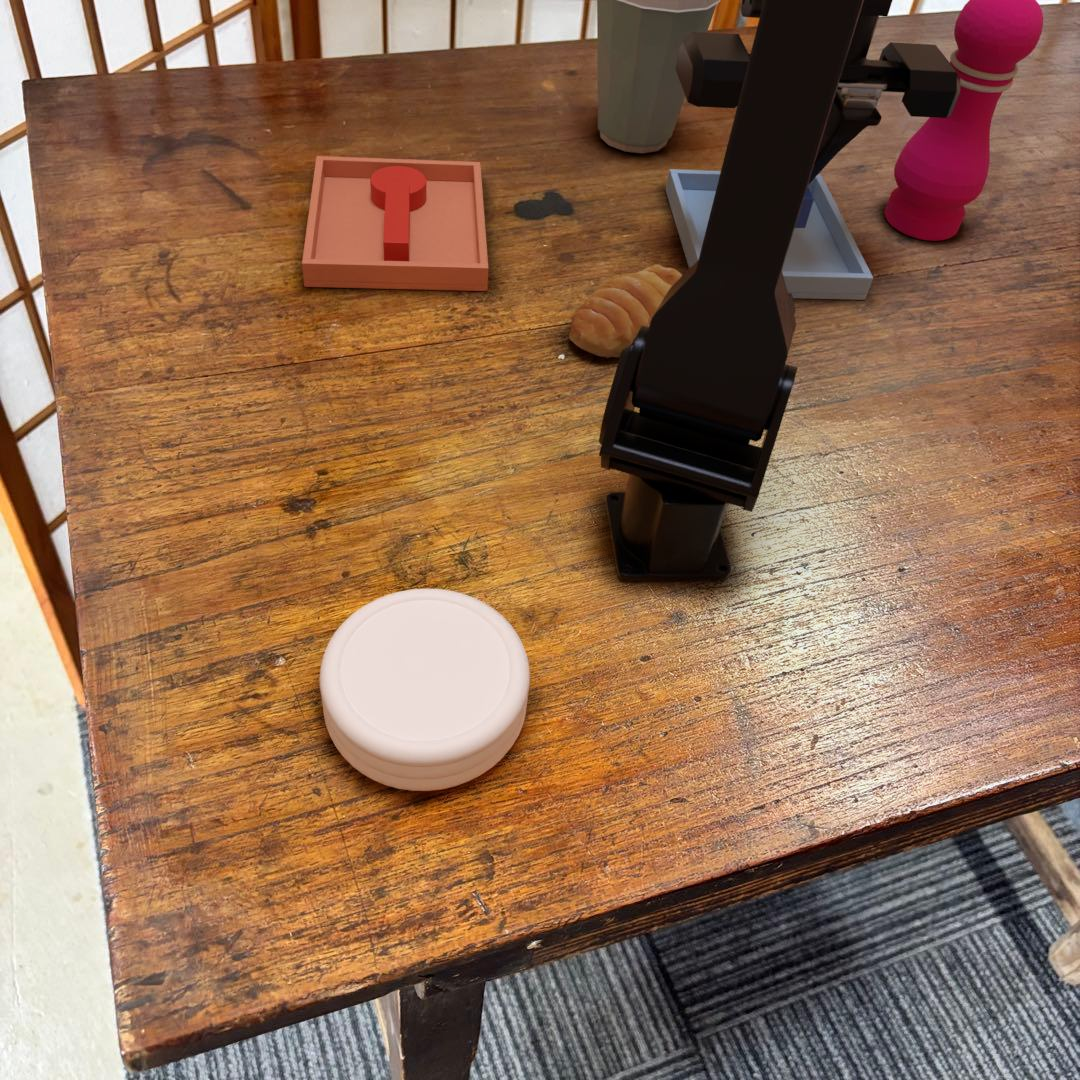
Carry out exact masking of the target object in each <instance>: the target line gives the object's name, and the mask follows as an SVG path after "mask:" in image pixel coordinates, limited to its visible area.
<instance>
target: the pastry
mask: <svg viewBox="0 0 1080 1080" xmlns="http://www.w3.org/2000/svg"><path fill="white" fill-rule="evenodd" d="M682 275H683V274H682V273H681V272H679V271H678V270H677V269H675V268H673V267H665V266H663V265H661V264H657V263H655V264H654V265H652V266H648V267H645V268H643V270H639V271H637V272H631V273H630V272H628V273H626V274H624V275H620V276H616V277H614V278H612V279H610V280H609V281H608V282H607V283H605V284H603V285H602V286H601V287H600V288H598V289H596V290H595V291H594V292H593V293H592V294H591V295H590V296H589V297H588V298H587V299H585V301H584V303H582V304H581V305H580V307H578V309H577V310H576V311H575V312H574V313H573V314H572V316H571V325H570V326H571V327H570V332H569V335H568V336H569V337H568V338H569V341H571V342H572V343H573V344H574V345H575V346H576V347H578V348H580V349H581V350H583V351H586V352H588V353H590V354H593V355H594V356H597V357H602V358H606V359H609V358H612V357H613V358H620V354H621V351H622V349H624V348H625V347H627V346H629V345H631V344H632V342H633V340H634V338H635V337H637V334H638V332H639V330H640V328H641V327H642V326H646V327H649V326H650V322H651V319H652V317H653V315H654V314H655V312H656V310H657V309H658V307H659V305H660V304H661V302H662V300H663V299H664V297H665V295H666V294H667V292H668V291H669V289H670V288H671V287H672V286H673V285H674V284H675V283H676V282H677V281H678V280H679V279H680V278H681V276H682Z"/></svg>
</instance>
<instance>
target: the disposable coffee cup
mask: <svg viewBox="0 0 1080 1080" xmlns="http://www.w3.org/2000/svg"><path fill="white" fill-rule="evenodd" d="M720 2H721V0H596V21H597V22H596V27H597V28H596V29H597V30H596V31H597V32H596V34H597V35H596V38H597V39H596V40H597V43H596V45H597V47H596V48H597V49H596V50H597V52H596V53H597V130H598V131H599V138H600V139H601V140H602V141H603V142H605V144H606V145H608V146H610V147H612V148H615V149H617V150H620V151H623V152H628V153H635V154H647V153H655V152H658V151H660V150H661V149H662V148H664V147H666V146H667V144H668V141H669V140H670V139H671V138H672V136H673V133H674V130H675V127H676V124H677V122H678V118H679V116H680V113H681V110H682V107H683V104H684V101H685V99H686V96H685V94H684V91H683V88H682V85H681V83H680V80H679V77H678V75H677V72H676V63H677V58H678V52H679V47H680V44H681V43H682V41H683V40H684V39H685V38H686V37H687V36H688V35H689V34H690V33H691V32H709V28H710V26H711V22H712V20H713V16H714V14H715V11H716V8H717V5H718V4H719V3H720Z"/></svg>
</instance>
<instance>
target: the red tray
mask: <svg viewBox="0 0 1080 1080" xmlns="http://www.w3.org/2000/svg"><path fill="white" fill-rule="evenodd" d="M314 163H315V164H314V169H313V171H314V172H313V179H312V185H311V186H312V187H311V193H310V200H309V208H308V215H307V223H306V231H305V237H304V246H303V253H302V261H301V269H302V278H303V286H304V288H339V289H376V290H377V289H381V290H383V289H384V290H385V289H386V290H390V289H391V290H421V291H422V290H423V291H427V290H429V291H465V292H466V291H468V292H487V291H488V288H489V286H488V285H489V257H488V244H487V231H486V218H485V217H486V216H485V205H484V204H485V203H484V192H483V178H482V177H483V176H482V165H481V162H480V161H463V160H462V161H461V160H460V161H459V160H436V159H435V160H434V159H408V158H381V157H378V158H377V157H357V156H355V157H353V156H327V155H316V157H315V162H314ZM389 166H405V167H410V168H413V169H416V170H418V171H420V172H421V173H422V174H423V175H424V176H425V178H426V188H427V198H426V202H425V204H424V205H423V206H422V207H420V208H418V209H416V210H413V211H410V246H409V261H384V246H383V239H384V217H385V210H383V209H381V208H379V207H377V206H376V205H375V204H374V203H373V201H372V199H371V186H370V178H371V176H372V174H373V173H374V172H375V171H377V170H379V169H381V168H384V167H389Z"/></svg>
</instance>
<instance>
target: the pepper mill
mask: <svg viewBox="0 0 1080 1080" xmlns="http://www.w3.org/2000/svg"><path fill="white" fill-rule="evenodd" d="M1043 28H1044V15H1043V10H1042V7H1041V5H1040V3H1039V2H1038V1H1037V0H968V1H967V2H966V3H965V4H964V6H963V7H962V9H961V11H960V12H959V13H958V16H957V19H956V20H955V25H954V31H953V36H954V41H955V43H956V46H957V49H955V50H954V51H952V53H950V56H949V57H950V59H949V60H950V61H949V63H950V64H951V65H952V66H953V68H954V69H955V70H956V71H957V73H958V75H959V77H960V93H959V96H958V99H957V101H956V104H955V106H954V109H953V111H952V114H951V115H950V116H948V117H947V118H935V117H928V119H926V121H925V122H924V123H923V124H922V126H921V127H920V128H919V129H918V130H917V131H916V132H915V133H914V134H913V135H912V136H911V137H910V138H909V139H908V141H907V142H906V144H904V147H903V148H902V149H901V151H900V154H899V156H898V158H897V160H896V162H895V164H894V169H893V176H894V180H895V183H896V185H897V187H896V188H894V189H893V190H892V191H891V193H890V195H889V197H888V201H887V203H886V207H885V209H884V217H885V219H886V221H887V222H888V224H889V226H891V227H892V228H894V229H895V230H897V231H898V232H899V233H902V234H904V235H906V236H909V237H911V238H914V239H916V240H917V239H918V240H922V241H930V242H932V241H933V242H934V241H935V242H941V241H944V240H949V239H951V238H952V237H954V236H955V235H957V234H958V232H959V230H960V228H961V225H962V222H963V220H964V218H965V216H966V207H965V206H966V205H969V204H970V203H972V202H973V201H975V200H976V199H977V198H978V197H979V196H980V195H981V194H982V192H983V190H984V187H985V184H986V181H987V178H988V176H989V175H988V174H989V167H990V162H991V161H990V160H991V159H990V155H991V154H990V143H991V141H990V140H991V138H990V136H991V126H992V120H993V116H994V113H995V110H996V108H997V104H998V102H999V100H1000V98H1001V96H1002V94H1003V92H1006V91H1008V90H1009V89H1011V88H1012V86H1013V84H1014V79H1015V77H1016V76H1017V75H1018V72H1019V66H1018V65H1017V64H1018V63H1019V62H1021V61H1022V60H1024V59H1026V58H1027V57H1029V56H1030V55H1031V53H1033V52H1034V50H1035V49H1036V47H1037V45H1038V43H1039V41H1040V39H1041V36H1042V33H1043Z"/></svg>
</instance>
